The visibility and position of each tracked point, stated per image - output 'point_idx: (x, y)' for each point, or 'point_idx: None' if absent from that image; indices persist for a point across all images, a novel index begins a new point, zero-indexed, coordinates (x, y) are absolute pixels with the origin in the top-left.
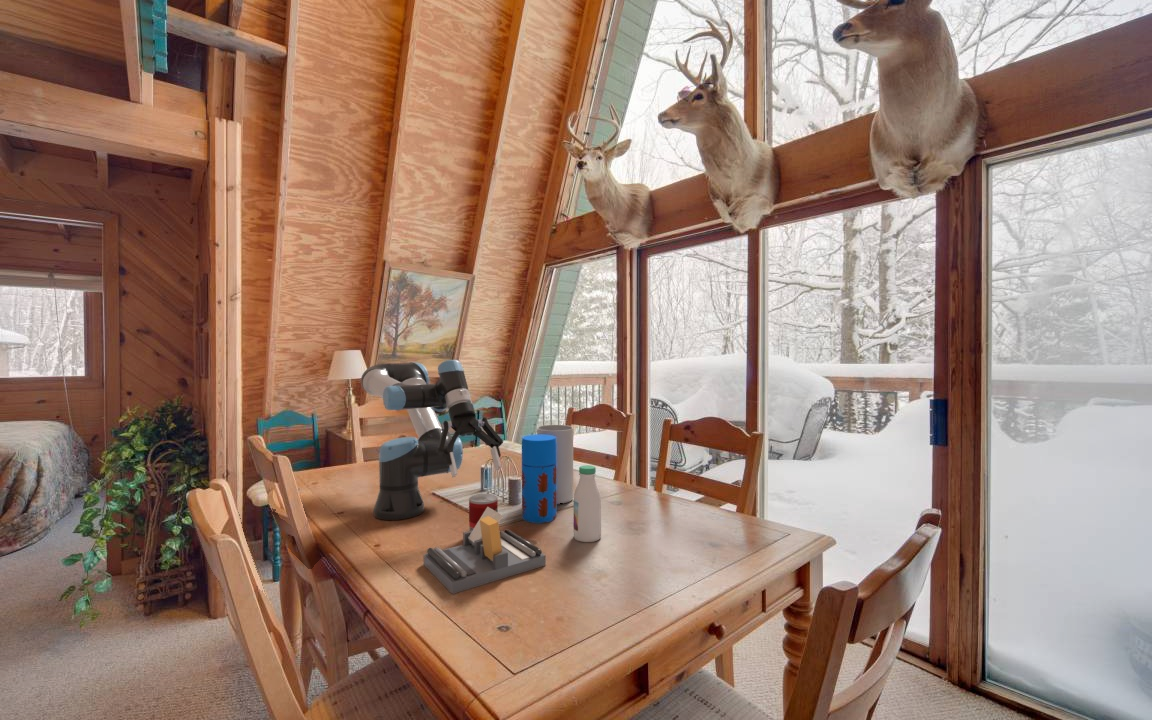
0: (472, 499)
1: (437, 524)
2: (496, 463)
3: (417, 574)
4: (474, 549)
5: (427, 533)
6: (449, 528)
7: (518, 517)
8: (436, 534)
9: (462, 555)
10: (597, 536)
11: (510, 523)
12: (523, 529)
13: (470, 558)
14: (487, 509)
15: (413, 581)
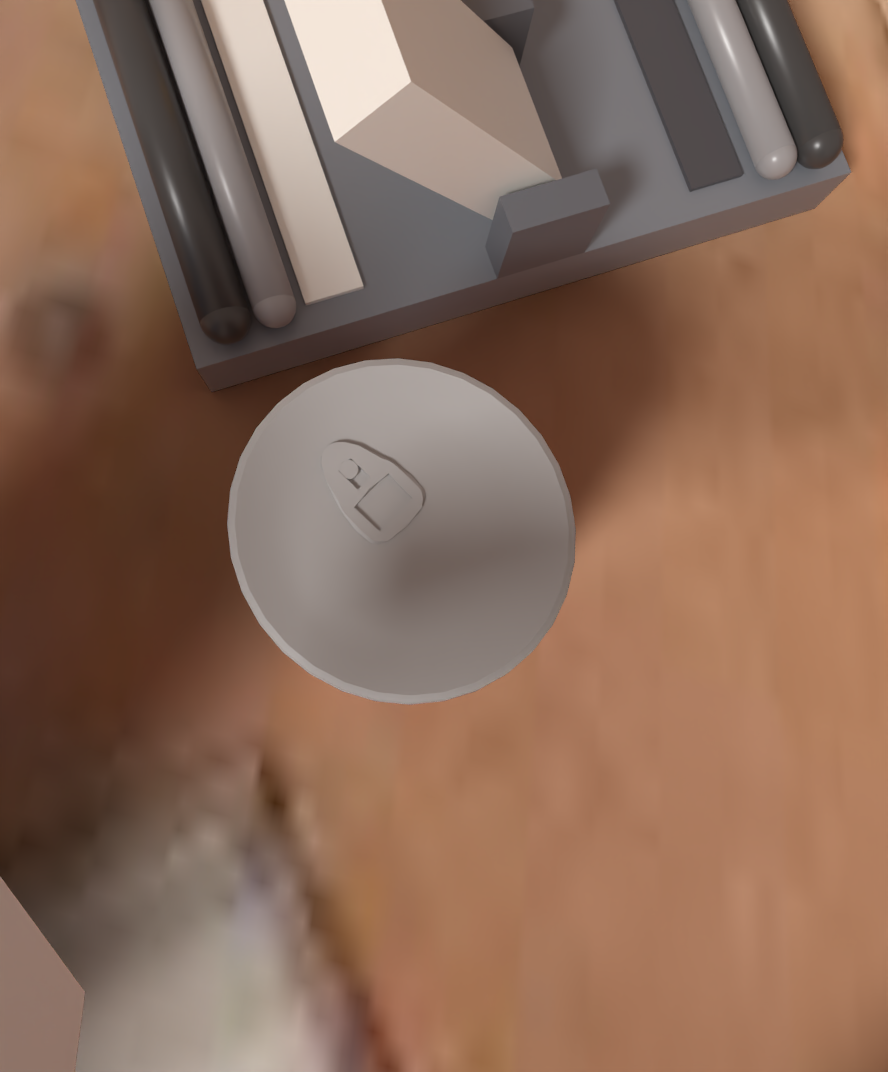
0: (537, 527)
1: (745, 960)
2: (8, 1035)
3: (840, 91)
4: None
5: (816, 762)
6: (647, 829)
7: None
8: (748, 719)
9: (599, 71)
10: None
11: (118, 805)
12: (40, 623)
13: (550, 9)
14: (415, 59)
15: (855, 15)
